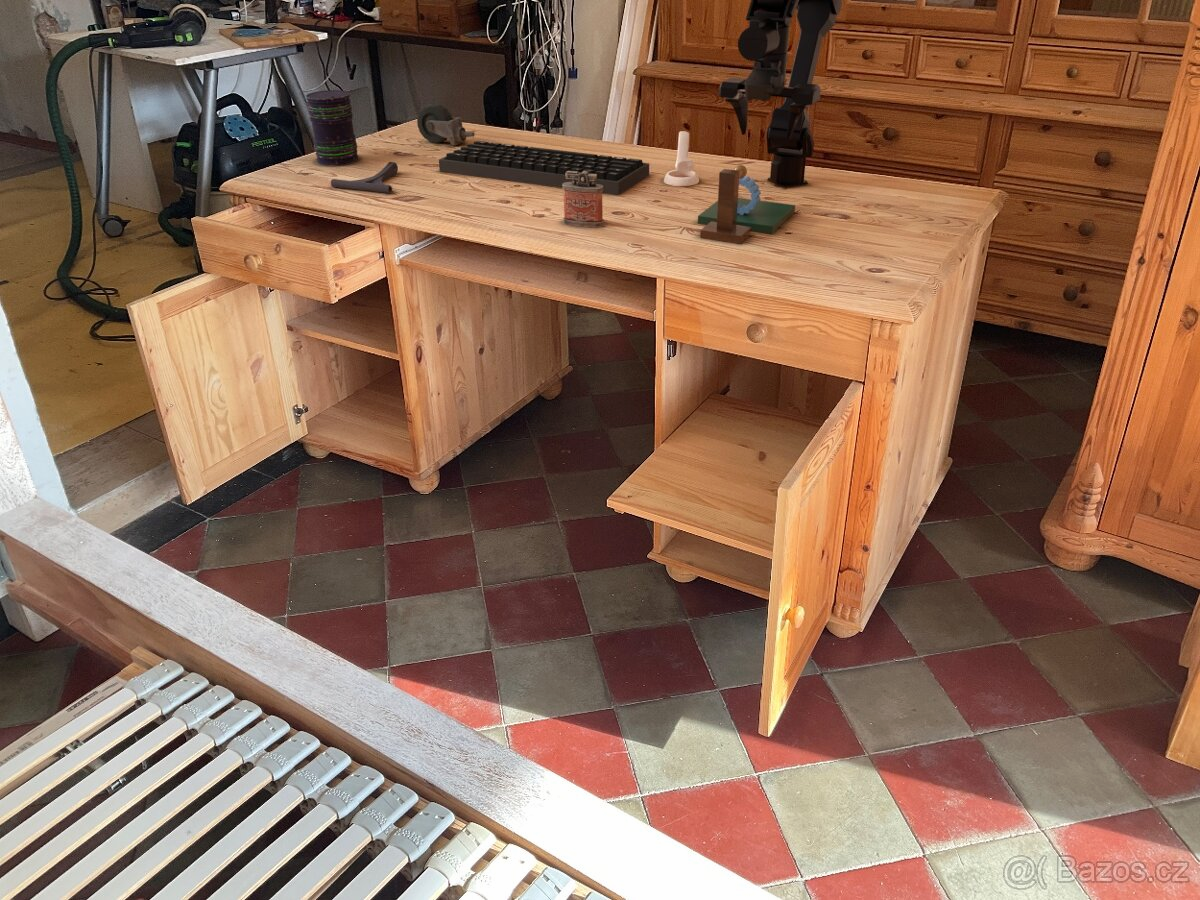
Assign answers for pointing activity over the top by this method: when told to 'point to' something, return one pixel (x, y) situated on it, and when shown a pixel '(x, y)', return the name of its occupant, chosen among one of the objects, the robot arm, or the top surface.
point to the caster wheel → (441, 125)
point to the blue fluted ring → (755, 195)
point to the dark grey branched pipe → (370, 181)
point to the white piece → (682, 165)
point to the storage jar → (332, 127)
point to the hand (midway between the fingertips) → (765, 136)
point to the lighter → (582, 200)
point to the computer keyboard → (542, 165)
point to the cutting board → (755, 215)
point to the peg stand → (727, 209)
